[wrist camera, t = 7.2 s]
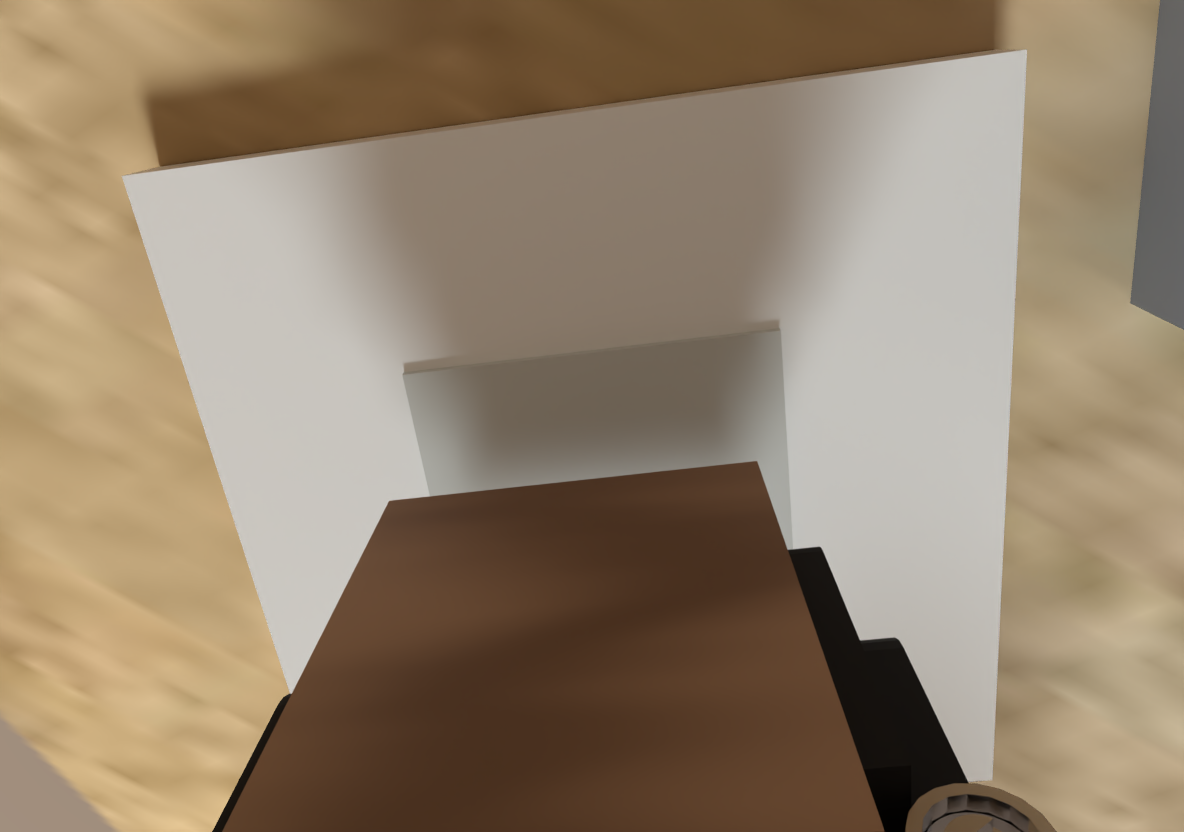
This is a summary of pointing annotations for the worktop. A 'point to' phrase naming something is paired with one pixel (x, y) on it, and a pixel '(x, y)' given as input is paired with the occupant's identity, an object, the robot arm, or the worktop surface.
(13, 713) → the worktop surface
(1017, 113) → the plate
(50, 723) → the worktop surface
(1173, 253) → the block blue
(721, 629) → the block walnut
